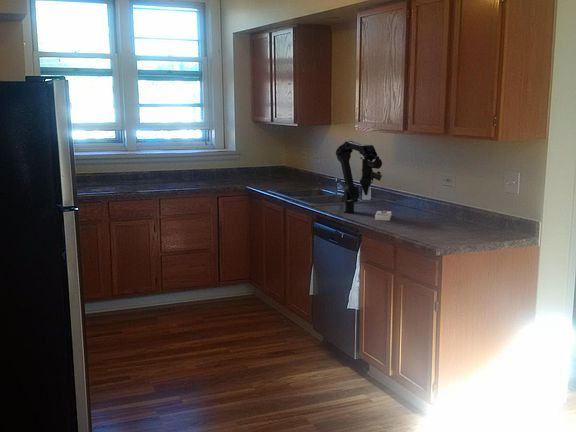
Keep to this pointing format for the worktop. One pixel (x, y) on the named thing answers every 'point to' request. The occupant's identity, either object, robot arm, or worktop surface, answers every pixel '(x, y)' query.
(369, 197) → the box
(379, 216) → the power strip
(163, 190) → the worktop surface
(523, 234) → the worktop surface
